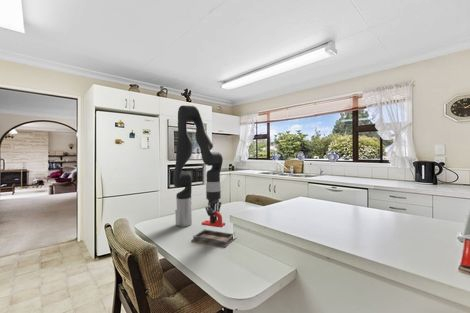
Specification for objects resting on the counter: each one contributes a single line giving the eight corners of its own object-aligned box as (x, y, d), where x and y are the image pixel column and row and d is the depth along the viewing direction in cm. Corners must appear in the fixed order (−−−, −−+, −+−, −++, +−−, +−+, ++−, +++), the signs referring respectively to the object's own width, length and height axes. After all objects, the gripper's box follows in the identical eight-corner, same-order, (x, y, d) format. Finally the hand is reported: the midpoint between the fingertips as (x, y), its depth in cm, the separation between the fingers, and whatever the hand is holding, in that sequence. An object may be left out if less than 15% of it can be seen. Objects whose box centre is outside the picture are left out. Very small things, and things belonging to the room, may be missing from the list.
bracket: (225, 224, 118) (224, 210, 118) (221, 227, 114) (220, 212, 114) (205, 222, 123) (205, 208, 123) (201, 224, 119) (201, 210, 119)
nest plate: (191, 241, 115) (191, 236, 115) (204, 232, 127) (204, 228, 127) (225, 247, 107) (225, 243, 107) (236, 237, 118) (236, 233, 118)
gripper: (213, 192, 108) (213, 227, 109) (225, 188, 121) (226, 219, 121) (200, 191, 111) (200, 225, 112) (213, 187, 124) (214, 218, 124)
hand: (213, 222), depth 116 cm, fingers closed on bracket, 1 cm apart
